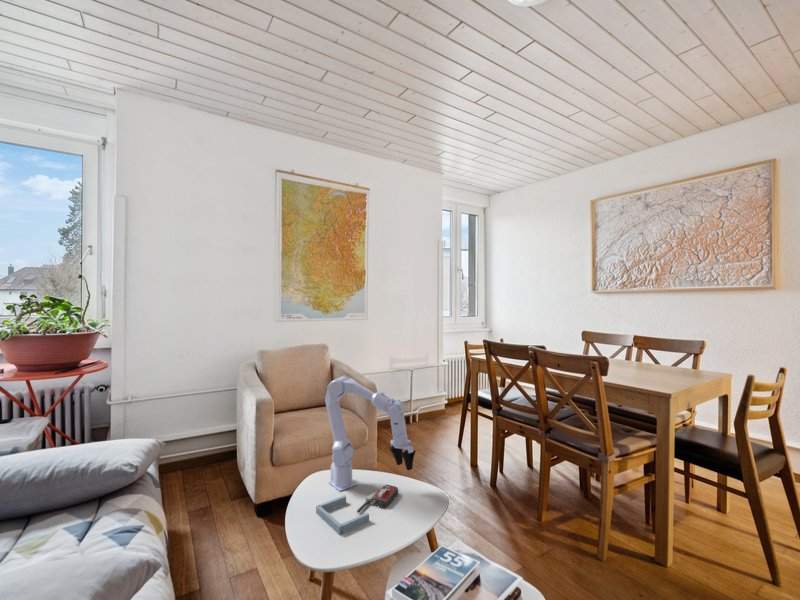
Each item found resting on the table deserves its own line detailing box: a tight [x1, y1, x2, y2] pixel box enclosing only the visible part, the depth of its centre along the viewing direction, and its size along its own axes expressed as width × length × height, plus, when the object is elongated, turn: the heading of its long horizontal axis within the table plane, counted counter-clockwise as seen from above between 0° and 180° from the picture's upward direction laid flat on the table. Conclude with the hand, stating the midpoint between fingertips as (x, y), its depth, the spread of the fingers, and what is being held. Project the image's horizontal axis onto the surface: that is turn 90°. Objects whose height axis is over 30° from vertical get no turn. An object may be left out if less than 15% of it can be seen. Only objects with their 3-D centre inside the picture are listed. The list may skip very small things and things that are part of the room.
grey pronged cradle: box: [315, 494, 370, 536], centre depth 133 cm, size 16×12×2 cm
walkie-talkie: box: [356, 484, 399, 514], centre depth 143 cm, size 9×4×20 cm
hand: (404, 466), depth 150 cm, fingers open, 7 cm apart
